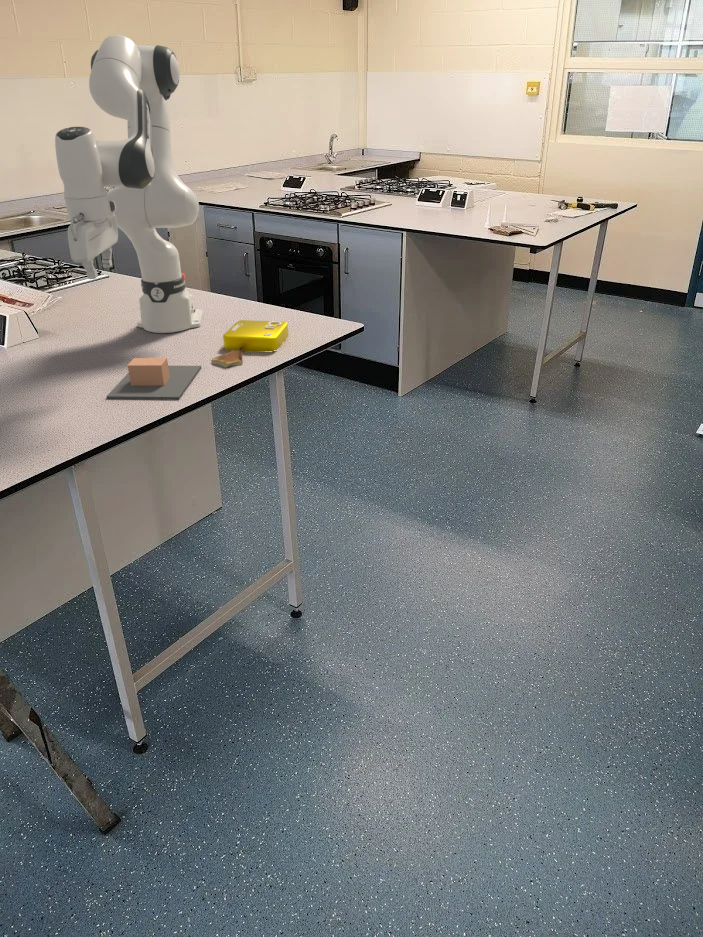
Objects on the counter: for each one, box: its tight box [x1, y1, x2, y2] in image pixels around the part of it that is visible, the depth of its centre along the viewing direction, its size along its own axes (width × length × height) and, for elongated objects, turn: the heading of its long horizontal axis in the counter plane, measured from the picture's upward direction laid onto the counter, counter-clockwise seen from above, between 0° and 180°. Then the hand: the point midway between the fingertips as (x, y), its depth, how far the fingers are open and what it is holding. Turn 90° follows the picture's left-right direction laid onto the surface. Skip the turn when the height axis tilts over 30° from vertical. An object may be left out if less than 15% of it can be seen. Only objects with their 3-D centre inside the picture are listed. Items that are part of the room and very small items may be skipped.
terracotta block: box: [127, 357, 170, 385], centre depth 172 cm, size 5×5×8 cm
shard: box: [211, 348, 244, 368], centre depth 187 cm, size 11×8×2 cm
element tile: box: [222, 319, 290, 352], centre depth 198 cm, size 15×15×5 cm
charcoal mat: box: [106, 365, 202, 400], centre depth 174 cm, size 20×17×1 cm
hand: (100, 272), depth 166 cm, fingers open, 8 cm apart
